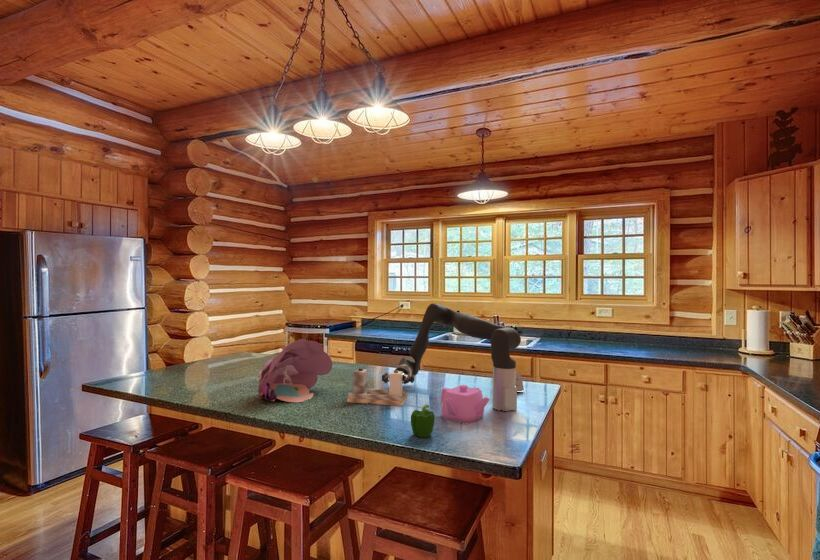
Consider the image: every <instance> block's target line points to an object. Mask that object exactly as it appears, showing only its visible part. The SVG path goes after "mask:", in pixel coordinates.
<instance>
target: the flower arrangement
mask: <svg viewBox="0 0 820 560" xmlns="http://www.w3.org/2000/svg"><path fill="white" fill-rule="evenodd" d="M332 368H333V361H332V358H331V357H330V355H329V354H328V353H327V352H325V351H324V348H323V346H322V344H321V343H319V342H318V341H315V340H307V339H305V338H300V339H296V340H294V341H293V342H291V343H289V344H287V345H286V346H284V347H281V351H280V353H278V354H277V355H276V356H275V357H274V359H273V358H271V359H270V358H269V360H267V362H265V364H264V366H263V368H262V370H261V371H259V372H258V378H259V382H258V392H257V393H258V397H259V398H260V400H265V401H266V400H267V401H271V402H275V400H280V401H284V402H286V403H287V402H288V403H301V402H306V401H308V399H309V400H311V399H312V398H313V397H314V392H310V391H311V390H310V389H311V388H313V387H315V385H316V384H317V382H318V376H325V375H328V374H329V373H330V372H331V371H332ZM305 400H306V401H305Z"/></svg>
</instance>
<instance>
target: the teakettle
mask: <svg viewBox="0 0 820 560" xmlns="http://www.w3.org/2000/svg"><path fill="white" fill-rule="evenodd" d="M488 402H490V398H489V397H487V396H485V397H483V393H482V390H481V389H480V388H479V387H476V386H473V387H468V385H467V384H460V385H458V386H455V387H452V388H448V387H444V388H441V396H440V403H442V405H441V407H442V408H441V414H442V419H445V420H446V421H447V420H448V421H451V422H454V421H455V423H458V422H459V423H460V424H463V423H464V424H463V425H467V423H468V424H472V423H474V422H476V421H478V420H480V419H481V418H483V417H484V414H485V413H484V412H485V407H486V406H487V404H488ZM473 421H474V422H473Z"/></svg>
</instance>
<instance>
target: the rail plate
mask: <svg viewBox="0 0 820 560" xmlns="http://www.w3.org/2000/svg"><path fill="white" fill-rule="evenodd" d="M368 372H369V370H368V369H364V368H363V367H359V368H357V369H356V370H354V371H353V392H348V394H347V395H348V396H347V397H348V398H347V399H346V402H347V403H358V404H368V403H370V404H369V405H371V404H373V405H386V406H400V407H403V405H404V403H406V401H407V399H408V390H402V396H392V395H389V389H381V388H368Z"/></svg>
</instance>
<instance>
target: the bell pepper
mask: <svg viewBox="0 0 820 560" xmlns="http://www.w3.org/2000/svg"><path fill="white" fill-rule="evenodd" d="M430 407H431V406H430V405H429V404H426V405H424V406H422V410H421V411H420V410H418V409H414V410H413V411H412V412H411V414H410V425H411V430H412V433H413V435H414V436H416V437H420V438H428V437H430V436H431V435H432V433H433V430H434V425H435V418H436V417H435V413H434V411H433V410H432V411H430V410H429V408H430Z"/></svg>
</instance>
